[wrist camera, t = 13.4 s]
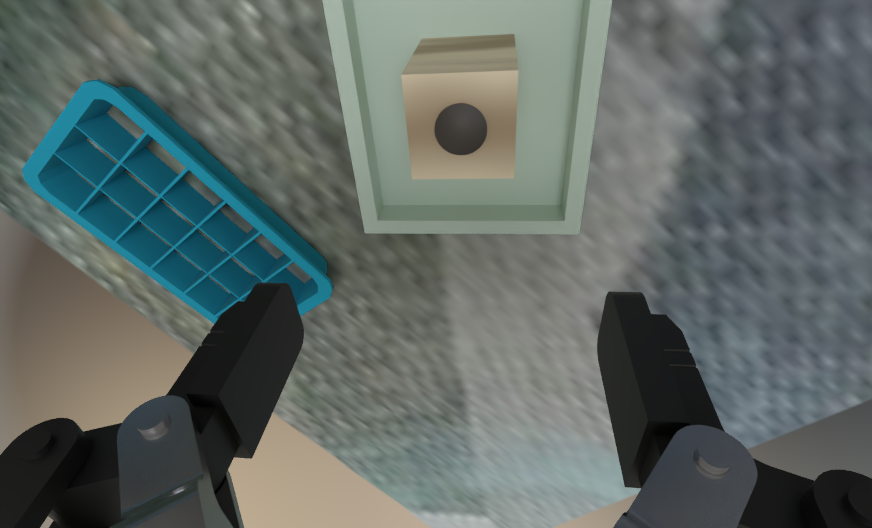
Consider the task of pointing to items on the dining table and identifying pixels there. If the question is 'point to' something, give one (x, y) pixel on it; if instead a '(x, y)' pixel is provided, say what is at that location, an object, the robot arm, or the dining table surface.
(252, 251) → the ice cube tray
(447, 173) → the birch block
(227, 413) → the robot arm
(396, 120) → the tray
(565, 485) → the dining table surface
